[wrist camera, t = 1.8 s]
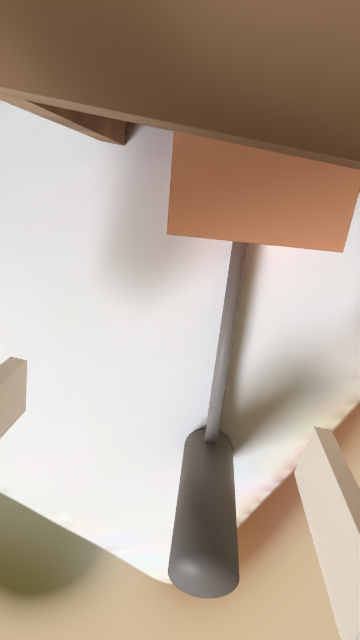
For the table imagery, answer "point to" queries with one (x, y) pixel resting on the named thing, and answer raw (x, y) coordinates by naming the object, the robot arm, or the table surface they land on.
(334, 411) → the table surface
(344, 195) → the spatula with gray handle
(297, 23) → the shelf
